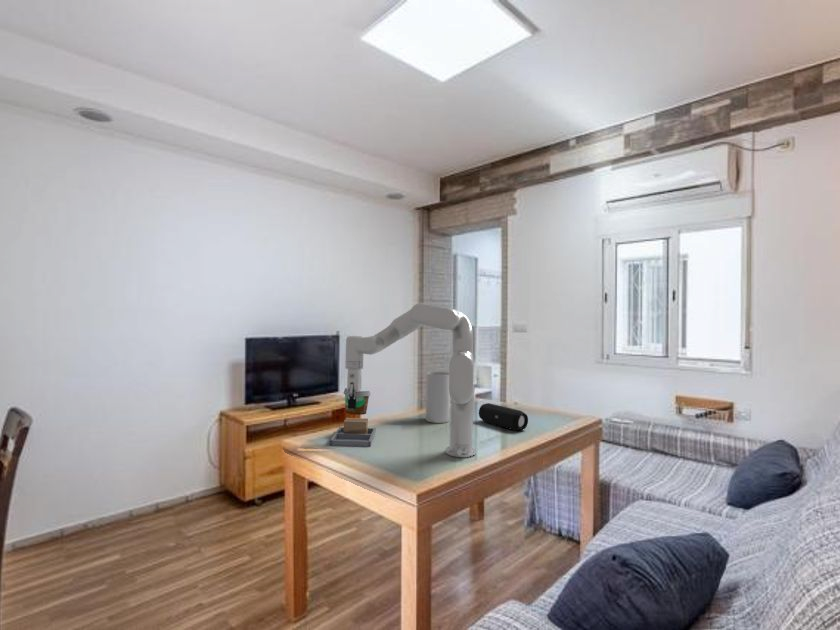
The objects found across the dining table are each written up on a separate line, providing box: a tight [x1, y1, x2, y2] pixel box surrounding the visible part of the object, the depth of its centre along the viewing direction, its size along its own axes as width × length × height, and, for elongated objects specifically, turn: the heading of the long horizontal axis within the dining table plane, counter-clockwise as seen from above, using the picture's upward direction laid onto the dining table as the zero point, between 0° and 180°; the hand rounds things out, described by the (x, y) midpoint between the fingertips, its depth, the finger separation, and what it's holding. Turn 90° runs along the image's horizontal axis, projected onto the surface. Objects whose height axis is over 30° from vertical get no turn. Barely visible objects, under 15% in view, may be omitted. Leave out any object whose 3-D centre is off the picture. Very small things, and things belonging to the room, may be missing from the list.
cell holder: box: [329, 426, 377, 448], centre depth 199 cm, size 21×17×3 cm
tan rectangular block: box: [343, 417, 369, 434], centre depth 204 cm, size 6×10×7 cm, turn 90°
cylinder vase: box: [425, 371, 451, 424], centre depth 239 cm, size 12×12×25 cm
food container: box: [343, 387, 371, 416], centre depth 193 cm, size 12×6×10 cm, turn 69°
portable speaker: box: [478, 402, 529, 431], centre depth 232 cm, size 26×10×10 cm, turn 41°
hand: (353, 406), depth 194 cm, fingers closed on food container, 6 cm apart
